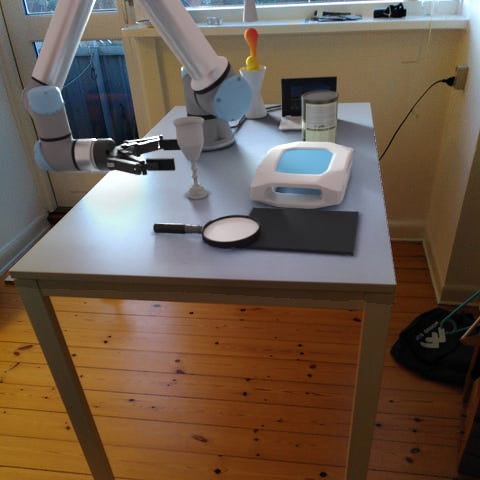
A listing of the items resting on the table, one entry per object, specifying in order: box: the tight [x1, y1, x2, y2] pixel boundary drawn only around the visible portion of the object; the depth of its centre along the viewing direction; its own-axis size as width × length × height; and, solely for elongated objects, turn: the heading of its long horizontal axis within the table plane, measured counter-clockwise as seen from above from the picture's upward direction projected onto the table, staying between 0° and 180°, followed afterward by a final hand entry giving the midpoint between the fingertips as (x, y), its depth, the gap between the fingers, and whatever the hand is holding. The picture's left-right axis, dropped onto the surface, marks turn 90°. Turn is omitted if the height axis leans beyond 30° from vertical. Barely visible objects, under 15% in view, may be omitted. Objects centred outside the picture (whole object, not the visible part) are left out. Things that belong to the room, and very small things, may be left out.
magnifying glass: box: [152, 214, 261, 250], centre depth 110 cm, size 12×24×2 cm, turn 73°
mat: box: [234, 206, 360, 257], centre depth 110 cm, size 18×24×1 cm
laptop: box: [278, 75, 338, 131], centre depth 164 cm, size 18×12×13 cm
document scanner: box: [249, 140, 354, 210], centre depth 127 cm, size 21×28×6 cm
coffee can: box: [301, 90, 340, 144], centre depth 147 cm, size 10×10×14 cm
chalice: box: [172, 116, 208, 200], centre depth 123 cm, size 7×7×18 cm
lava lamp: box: [239, 0, 268, 119], centre depth 170 cm, size 9×9×35 cm
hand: (181, 153), depth 123 cm, fingers open, 13 cm apart
